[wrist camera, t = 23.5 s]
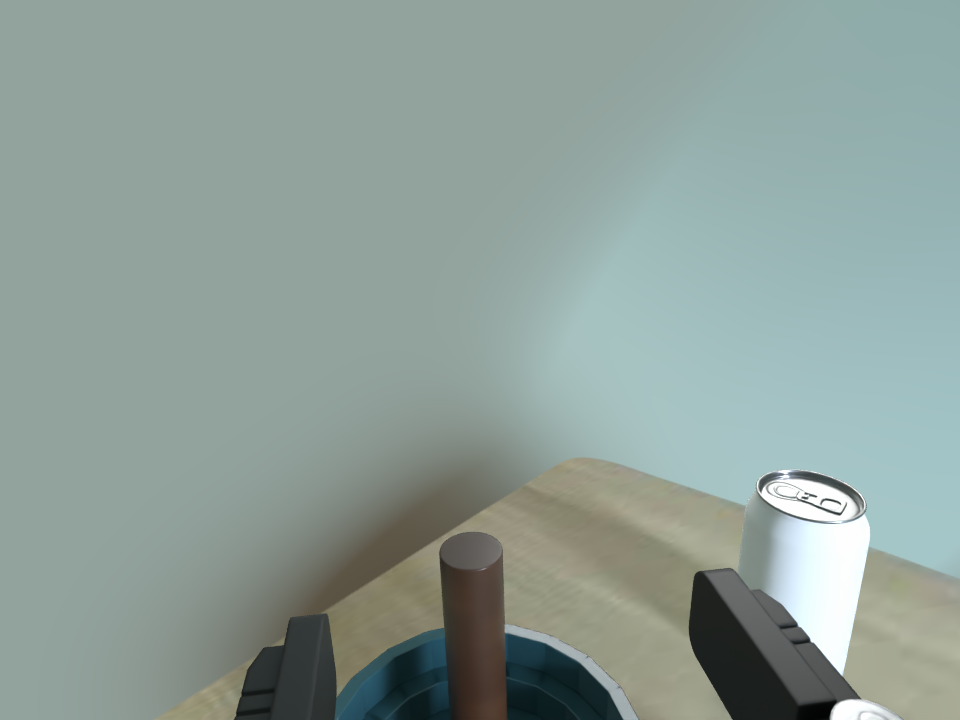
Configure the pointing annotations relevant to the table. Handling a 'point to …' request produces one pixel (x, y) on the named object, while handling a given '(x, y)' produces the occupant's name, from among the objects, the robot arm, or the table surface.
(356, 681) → the bowl
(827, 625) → the can
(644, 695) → the table surface
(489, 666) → the brown post with base
